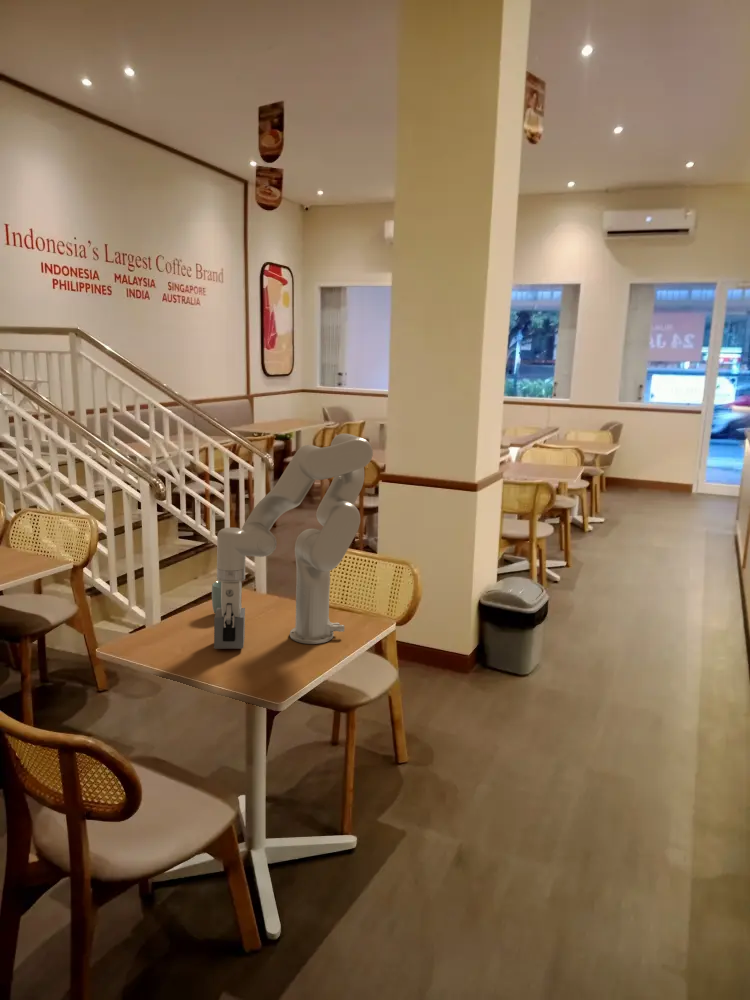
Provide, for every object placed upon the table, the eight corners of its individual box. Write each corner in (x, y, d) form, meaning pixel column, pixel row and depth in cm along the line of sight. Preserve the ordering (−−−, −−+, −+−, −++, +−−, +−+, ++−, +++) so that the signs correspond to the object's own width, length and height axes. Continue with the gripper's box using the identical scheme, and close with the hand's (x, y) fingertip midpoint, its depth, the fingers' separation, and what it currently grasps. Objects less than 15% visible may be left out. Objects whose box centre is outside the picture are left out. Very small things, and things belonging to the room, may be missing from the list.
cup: (207, 617, 218) (207, 586, 216) (220, 609, 225) (220, 579, 223) (230, 621, 215) (230, 589, 213) (242, 612, 223) (242, 582, 221)
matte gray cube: (244, 637, 200) (245, 607, 199) (243, 648, 193) (243, 617, 191) (216, 637, 199) (216, 607, 197) (214, 648, 192) (214, 617, 190)
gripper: (243, 583, 184) (242, 647, 188) (246, 564, 201) (245, 623, 204) (213, 583, 183) (213, 647, 186) (219, 564, 200) (218, 623, 203)
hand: (230, 634), depth 195 cm, fingers closed on matte gray cube, 7 cm apart
